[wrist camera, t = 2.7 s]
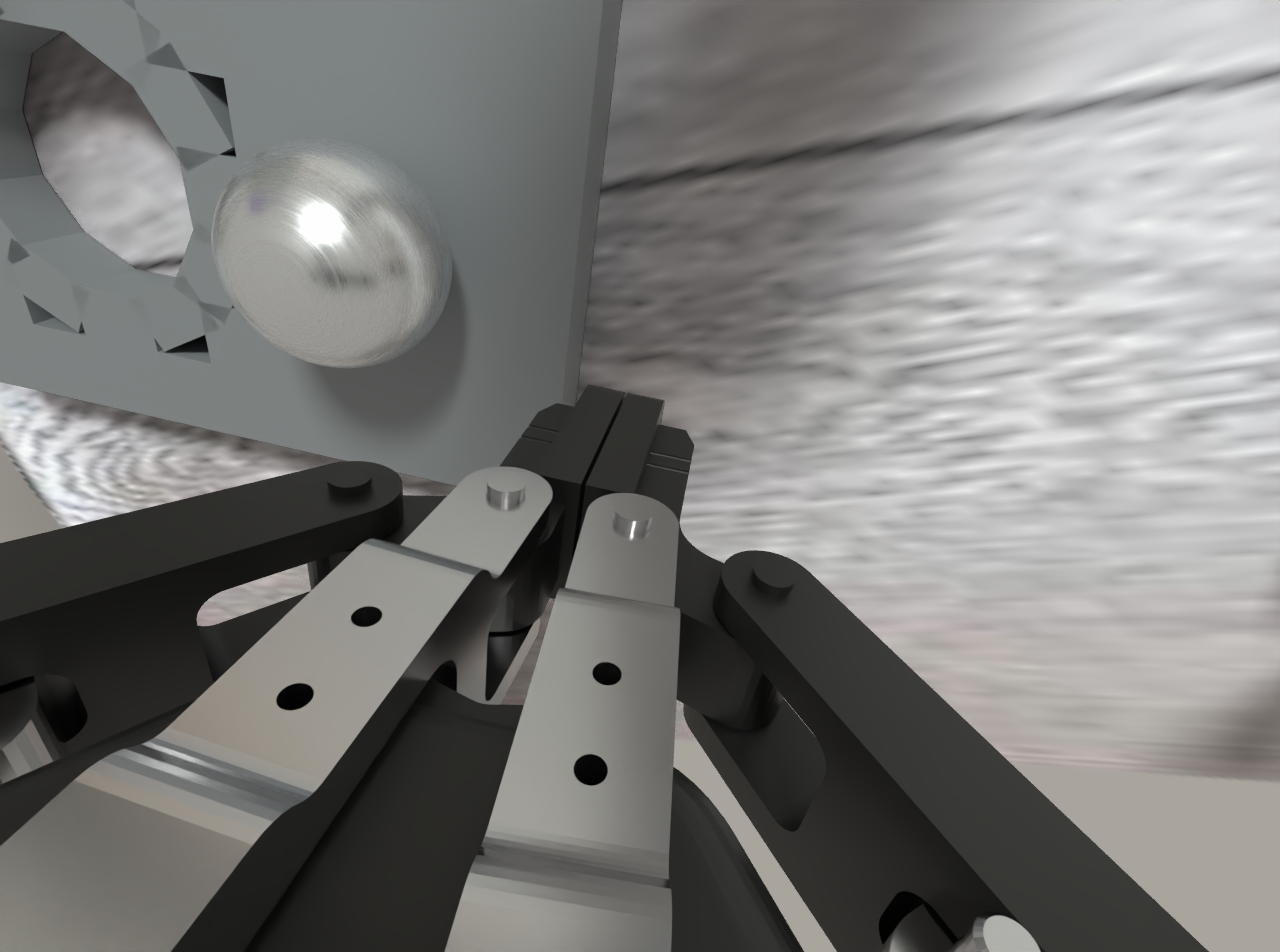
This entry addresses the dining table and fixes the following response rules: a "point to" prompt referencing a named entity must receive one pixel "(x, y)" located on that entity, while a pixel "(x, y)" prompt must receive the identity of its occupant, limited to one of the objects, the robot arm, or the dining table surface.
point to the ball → (331, 253)
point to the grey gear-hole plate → (356, 114)
